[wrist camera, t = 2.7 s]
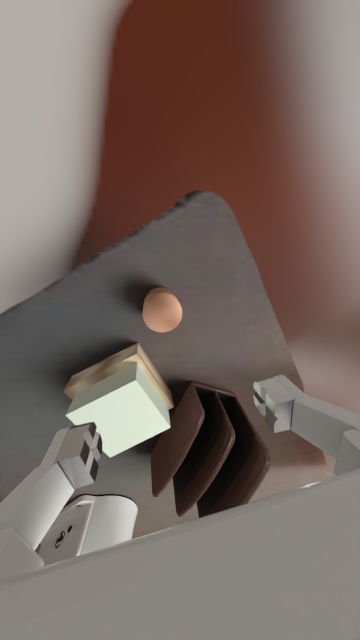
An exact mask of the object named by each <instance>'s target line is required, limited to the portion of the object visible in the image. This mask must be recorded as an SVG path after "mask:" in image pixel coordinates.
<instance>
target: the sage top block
mask: <svg viewBox="0 0 360 640" xmlns="http://www.w3.org/2000/svg"><path fill="white" fill-rule="evenodd" d="M66 416H67V417H68V418H69V419H70V420H71V421H72V422H73V423H74V424H75V425H81V424H85V423H90V422H95V424H96V426H97V428H96V432H98V433H100V435H101V438H102V450H103V451H104V452H105V453H106V454H107V455H108V456H109V457H112V456H114V455H116V454H118V453H120V452H123V451H125V450H127V449H129V448H131V447H133V446H135V445H137V444H139V443H141V442H143V441H145V440H147V439H149V438H151V437H153V436H155V435H157V434H159V433H161V432H163V431H165V430H167V429H169V428H171V426H170V418H169V411H168V406H167V404H166V403H165V401H164V400H163V399H162V397H161V396H160V394H159V393H158V391H157V390H156V388H155V387H154V385H153V384H152V383H151V381H150V380H149V378H148V377H147V375H146V374H145V372H144V371H143V370H142V368H141V367H140V365H139V364H138V362H137V363H135V364H133V365H131V366H129V367H127V368H125V369H123V370H121V371H119V372H117V373H115V374H113V375H111V376H109V377H107V378H105V379H103V380H101V381H99V382H97V383H95V384H93V385H91V386H89V387H87V388H85V389H83V390H81V391H79V392H77V393H76V395H75V397H74V399H73V401H72V403H71V405H70V407H69V409H68V411H67V413H66Z"/></svg>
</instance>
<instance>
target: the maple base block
mask: <svg viewBox="0 0 360 640" xmlns="http://www.w3.org/2000/svg"><path fill="white" fill-rule="evenodd" d="M137 362H138V364H139V365H140V367H141V368H142V370H143V371H144V372H145V374H146V375H147V377H148V378H149V380H150V381H151V383H152V384H153V385H154V387H155V388H156V390H157V391H158V393H159V394H160V396H161V397H162V399H163V400H164V401H165V403H166V404H167V406H168V410H169V409H171V408H173V407H174V405H173V399H172V393H171V391H170V390H169V388H168V387H167V385H166V384H165V382H164V381H163V379H162V378H161V376H160V375H159V373H158V372H157V370H156V369H155V367H154V366H153V364H152V363H151V361H150V360H149V358H148V357H147V355H146V353H145V352H144V350H143V349H142V347H141V346H140V344H139V343H136V344H134V345H132V346H130V347H128V348H126V349H124V350H122V351H120V352H118V353H116V354H114V355H112V356H110V357H108V358H106V359H104V360H102V361H101V362H99V363H97V364H95V365H93V366H91V367H89V368H87V369H85V370H83V371H81V372H79V373H77V374H75V375H73V376H72V377H71V379H70V380H69V382H68V384H67V385H66V387H65V389H64V390H63V392H64V393H65V394H66V395H67V396H68V397H69V398H70V399H71V400H72V401H73V399H74V397H75V395H76V393H77V392H79V391H81V390H83V389H85V388H87V387H89V386H91V385H93V384H95V383H97V382H99V381H101V380H103V379H105V378H107V377H109V376H111V375H113V374H115V373H117V372H119V371H121V370H123V369H125V368H127V367H129V366H131V365H133V364H135V363H137Z"/></svg>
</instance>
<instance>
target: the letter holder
mask: <svg viewBox="0 0 360 640" xmlns="http://www.w3.org/2000/svg"><path fill="white" fill-rule="evenodd" d="M170 426H171V428H169V429H167V430H165V431H163V433H162V434H161V436H160V438H159V440H158V442H157V444H156V445H155V447H154V449H153V451H152V453H151V476H152V493H153V496H154V497H157V496H158V495H159V494H160V493H161V492H162V491H163V489H164V488H165V487H166V486H167V484H168V483H169V482H170V480H171V479H172V477H173V485H174V494H175V504H176V513H177V515H178V516H179V517H181V516H182V515H184V514H185V513H186V512H187V511H188V510H190V509H191V508H192V507H193V505H194V504H195V503H196V502H197V507H198V514H199V518H201V517H205V516H208V515H211V514H214V513H218V512H221V511H224V510H227V509H231V508H234V507H237V506H240V505H243V504H247V503H248V502H249V500H250V499H251V498H252V496H253V495H254V493H255V492H256V490H257V488H258V487H259V486H260V484H261V482H262V481H263V479H264V477H265V475H266V473H267V472H268V470H269V468H270V464H271V458H270V454H269V452H268V450H267V448H266V446H265V445H264V443H263V441H262V440H261V438H260V436H259V434H258V433H257V431H256V429H255V428H254V426H253V424H252V423H251V421H250V419H249V418H248V416H247V414H246V413H245V411H244V409H243V407H242V406H241V404H240V402H239V401H238V399H237V397H236V395H235V394H234V393H232V392H228V391H225V390H222V389H218V388H215V387H211V386H208V385H204V384H201V383H197V382H194V381H191V382H190V384H189V386H188V388H187V390H186V392H185V393H184V395H183V397H182V399H181V400H180V402H179V404H178V406H177V408H176V409H175V411H174V413H173V415H172V416H171V418H170Z"/></svg>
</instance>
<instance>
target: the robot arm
mask: <svg viewBox="0 0 360 640" xmlns="http://www.w3.org/2000/svg"><path fill="white" fill-rule="evenodd" d="M254 389H255V390H256V392H255V393H254V402H255V405H256V407H257V409H258V411H259V412H260V413H261V414H262V415H264V416H266V422H267V424H268V425H269V427H270V428H271V430H272V431H273V432H274V433H276V432H280V431H285V430H289V429H291V430H292V431H293V432H295V433H296V434H298V435H299V436H301V437H303V438H304V439H306V440H307V441H309V442H310V443H312V444H313V445H315V446H316V447H318V448H319V449H321V450H322V451H324V452H326V453H327V454H329V455H330V456H332V457H333V458H335V459H336V464H335V468H334V474H335V475H336V476H334V477H331V478H327V479H324V480H321V481H318V482H315V483H311V484H308V485H305V486H302V487H298V488H295V489H292V490H289V491H285V492H282V493H279V494H276V495H273V496H269V497H266V498H263V499H260V500H256V501H253V502H250V503H247V504H243V505H240V506H237V507H234V508H231V509H227V510H224V511H221V512H218V513H214V514H211V515H208V516H205V517H201V518H198V519H195V520H192V521H189V522H185V523H182V524H179V525H176V526H172V527H169V528H166V529H163V530H160V531H156V532H153V533H150V534H147V535H143V536H140V537H137V538H134V539H132V533H133V528H134V524H135V519H136V516H137V512H138V509H137V506H136V504H135V503H134V502H133V501H131V500H130V499H128V498H125V497H121V496H90V495H83V496H80V497H79V498H77V499H76V500H74V501H73V502H71V503H70V504H69V505H67V506H66V507H64V505H65V504H66V502H67V501H68V499H69V498H70V496H71V495H72V493H73V492H74V489H76V488H79V487H83V486H86V485H89V484H92V483H95V479H96V475H97V470H98V464H97V462H96V461H97V460H98V459H99V457H100V456H101V453H102V438H101V435H100V433H98V432H96V428H97V426H96V424H95V422H90V423H85V424H81V425H76V426H72V427H68V428H64V429H60V430H59V431H58V432H57V433H56V435H55V437H54V439H53V441H52V443H51V445H50V447H49V449H48V451H47V453H46V455H45V457H44V459H43V461H42V463H41V465H40V467H37V468H35V469H34V470H33V471H32V472H31V473H30V474H29V475H28V476H27V477H26V478H25V479H24V480H23V481H22V482H21V483H20V484H19V485H18V486H17V487H16V488H15V489H14V490H13V491H12V492H11V493H10V494H9V495H8V496H7V497H6V498H5V499H4V500H3V501H2V502H1V503H0V640H360V415H358V414H355V413H353V412H350V411H347V410H345V409H342V408H340V407H337V406H335V405H332V404H330V403H327V402H324V401H322V400H319V399H317V398H314V397H312V396H308V397H307V396H306V395H305V394H304V393H303V392H302V391H301V390H300V389H298V388H297V387H296V386H295V385H294V384H293V383H292V382H291V381H290V380H289V379H287V378H286V377H285V376H284V375H278V376H274V377H271V378H267V379H263V380H259V381H255V382H254ZM63 507H64V508H63ZM39 543H40V544H41V548H40V551H39V554H37V553H36V552H35V549H36V548H37V546H38V545H39Z"/></svg>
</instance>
